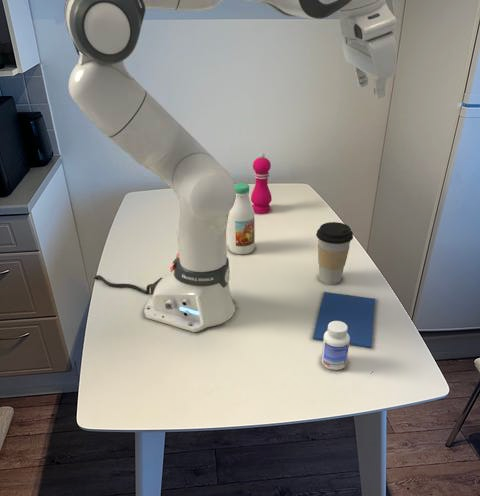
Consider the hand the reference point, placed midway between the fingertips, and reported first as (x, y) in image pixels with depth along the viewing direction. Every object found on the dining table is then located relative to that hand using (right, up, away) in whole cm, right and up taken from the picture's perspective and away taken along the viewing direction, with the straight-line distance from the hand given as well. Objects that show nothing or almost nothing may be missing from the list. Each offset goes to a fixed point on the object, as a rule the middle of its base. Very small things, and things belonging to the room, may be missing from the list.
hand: (371, 91), depth 104 cm
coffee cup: (-3, -37, +31) cm, 48 cm away
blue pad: (-2, -48, +15) cm, 51 cm away
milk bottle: (-27, -27, +45) cm, 60 cm away
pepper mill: (-20, -10, +69) cm, 73 cm away
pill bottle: (-8, -58, +2) cm, 59 cm away
